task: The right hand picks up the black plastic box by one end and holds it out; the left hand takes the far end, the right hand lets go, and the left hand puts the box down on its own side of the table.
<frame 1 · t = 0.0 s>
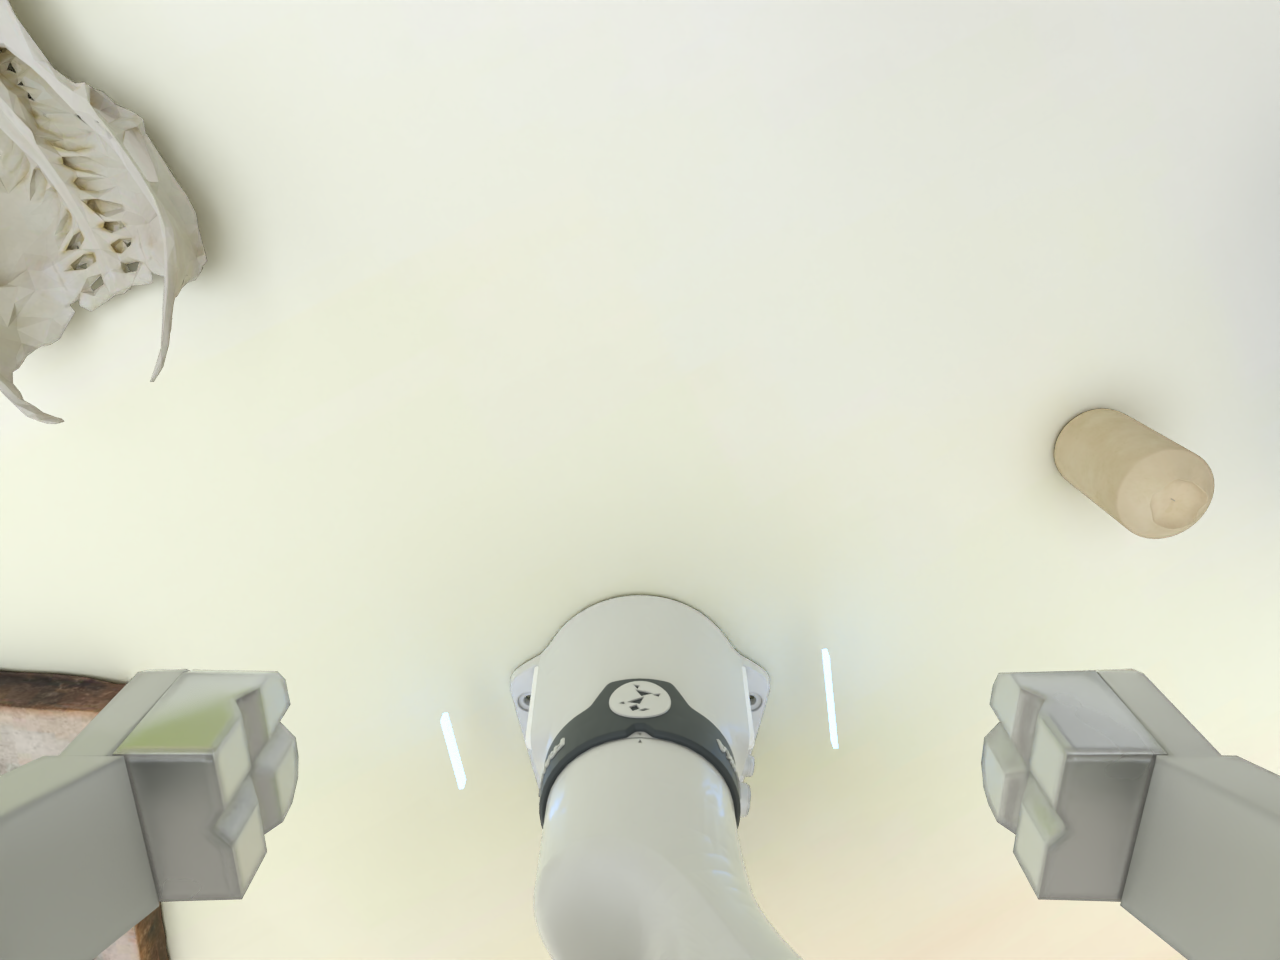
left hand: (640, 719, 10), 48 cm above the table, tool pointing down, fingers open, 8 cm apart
candle: (1093, 446, 60), on the table
anatomical model: (69, 175, 54), on the table
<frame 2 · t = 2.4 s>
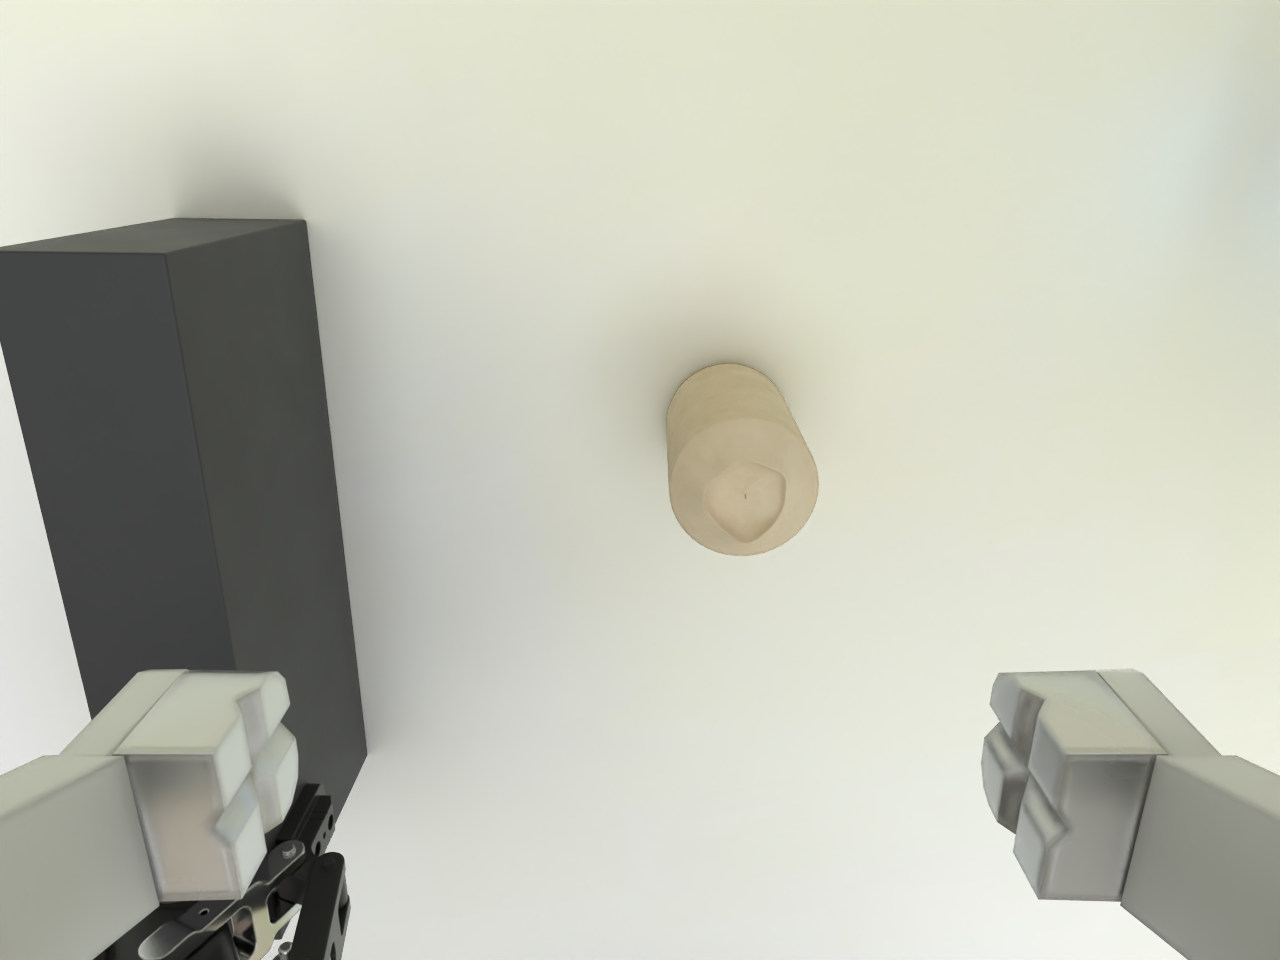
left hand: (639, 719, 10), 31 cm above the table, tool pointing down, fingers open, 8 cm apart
candle: (725, 419, 42), on the table
box: (281, 516, 44), on the table, touching right hand
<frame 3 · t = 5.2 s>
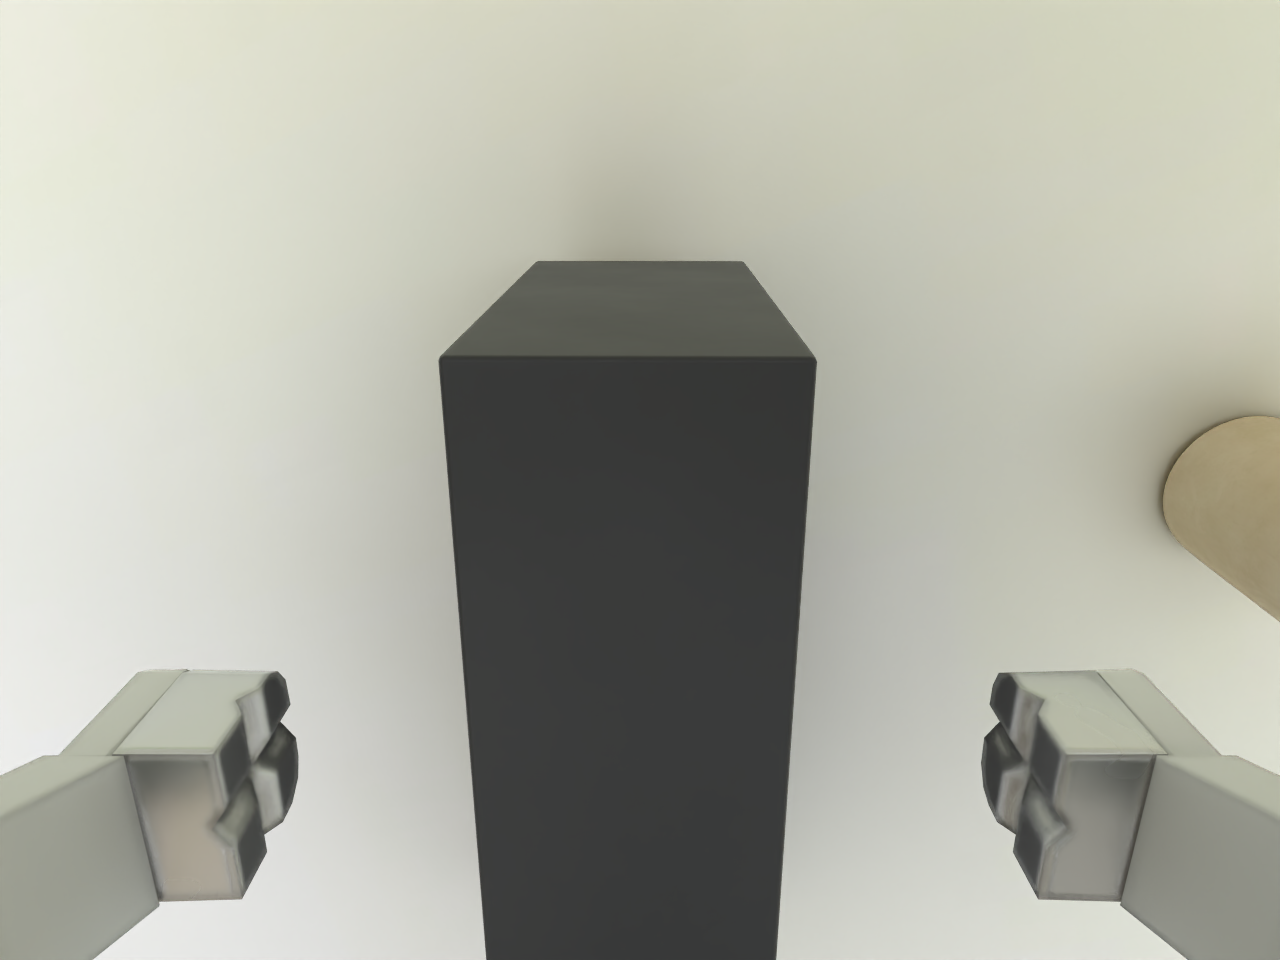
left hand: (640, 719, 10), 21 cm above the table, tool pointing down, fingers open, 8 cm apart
candle: (1236, 486, 32), on the table
box: (640, 692, 30), point 5 cm above the table, touching right hand
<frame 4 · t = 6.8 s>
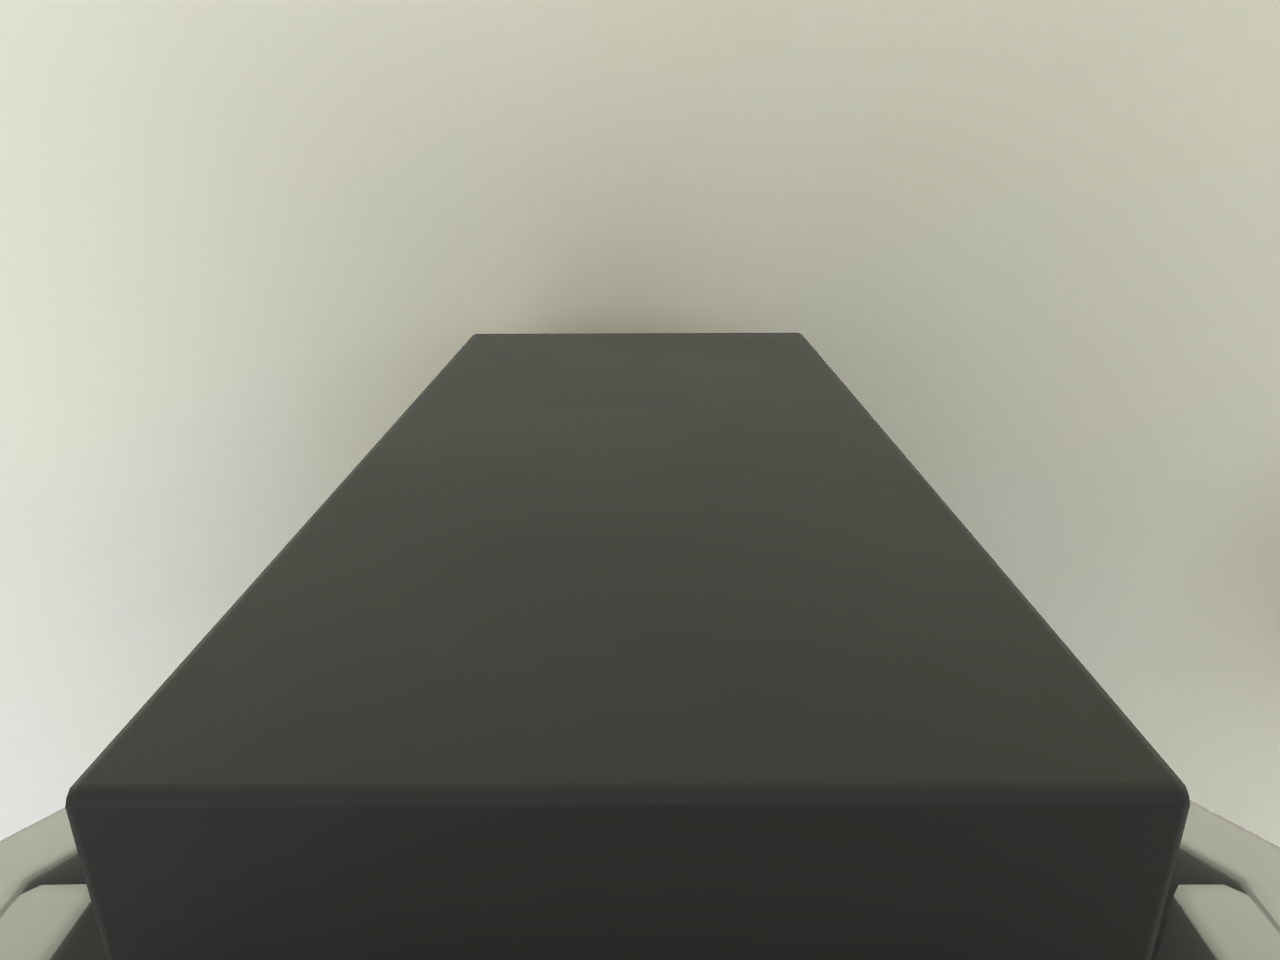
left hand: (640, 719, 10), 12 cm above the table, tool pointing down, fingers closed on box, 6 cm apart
box: (640, 938, 20), point 5 cm above the table, touching left hand, right hand
when the right hand's fingers open (13 cm above the table, at t = 8.0 s): box stays where it is, held by the left hand.
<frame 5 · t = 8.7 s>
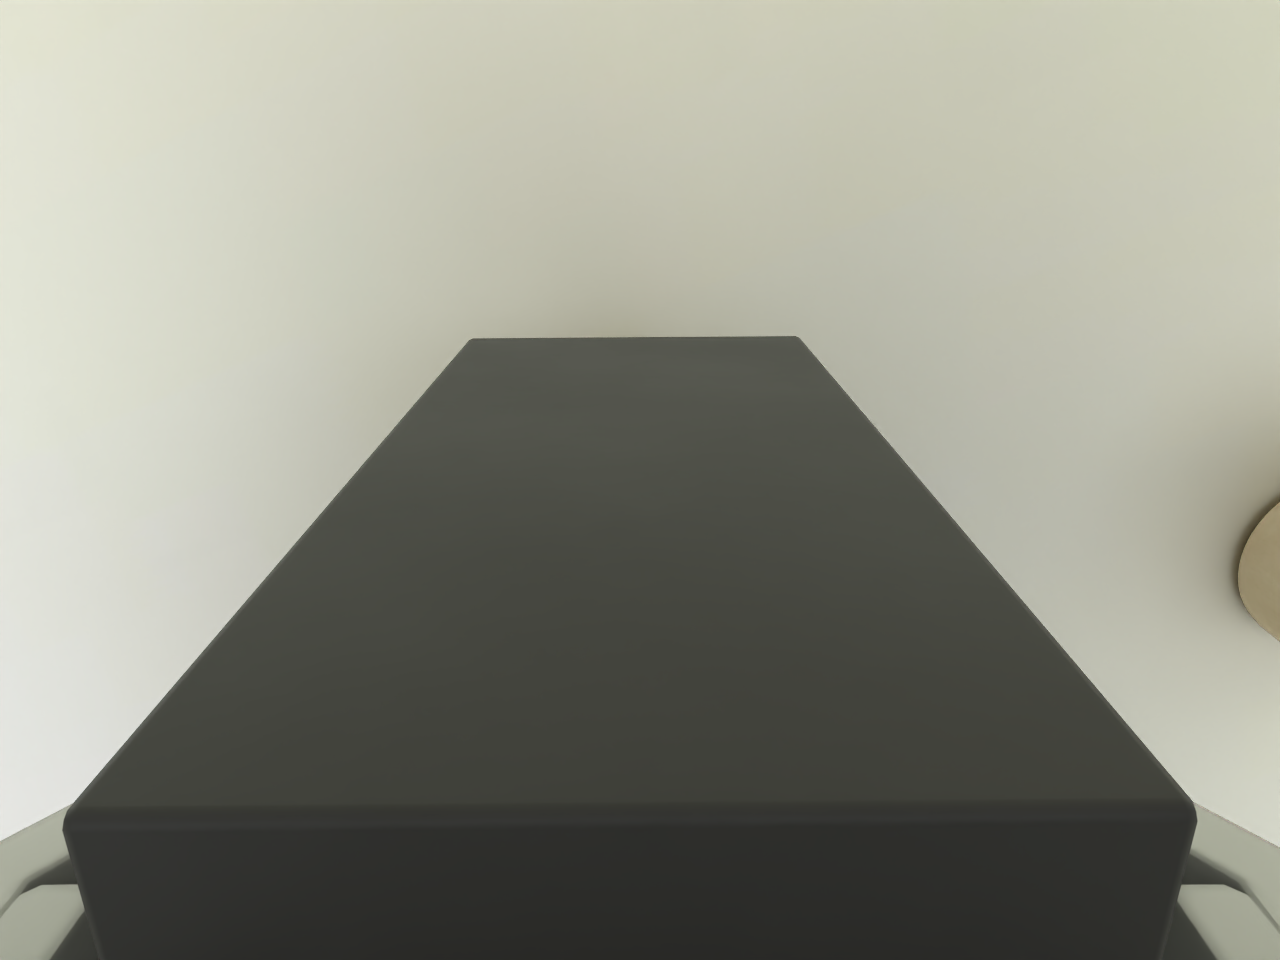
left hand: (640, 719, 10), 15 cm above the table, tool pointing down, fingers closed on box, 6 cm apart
box: (639, 942, 20), point 9 cm above the table, touching left hand
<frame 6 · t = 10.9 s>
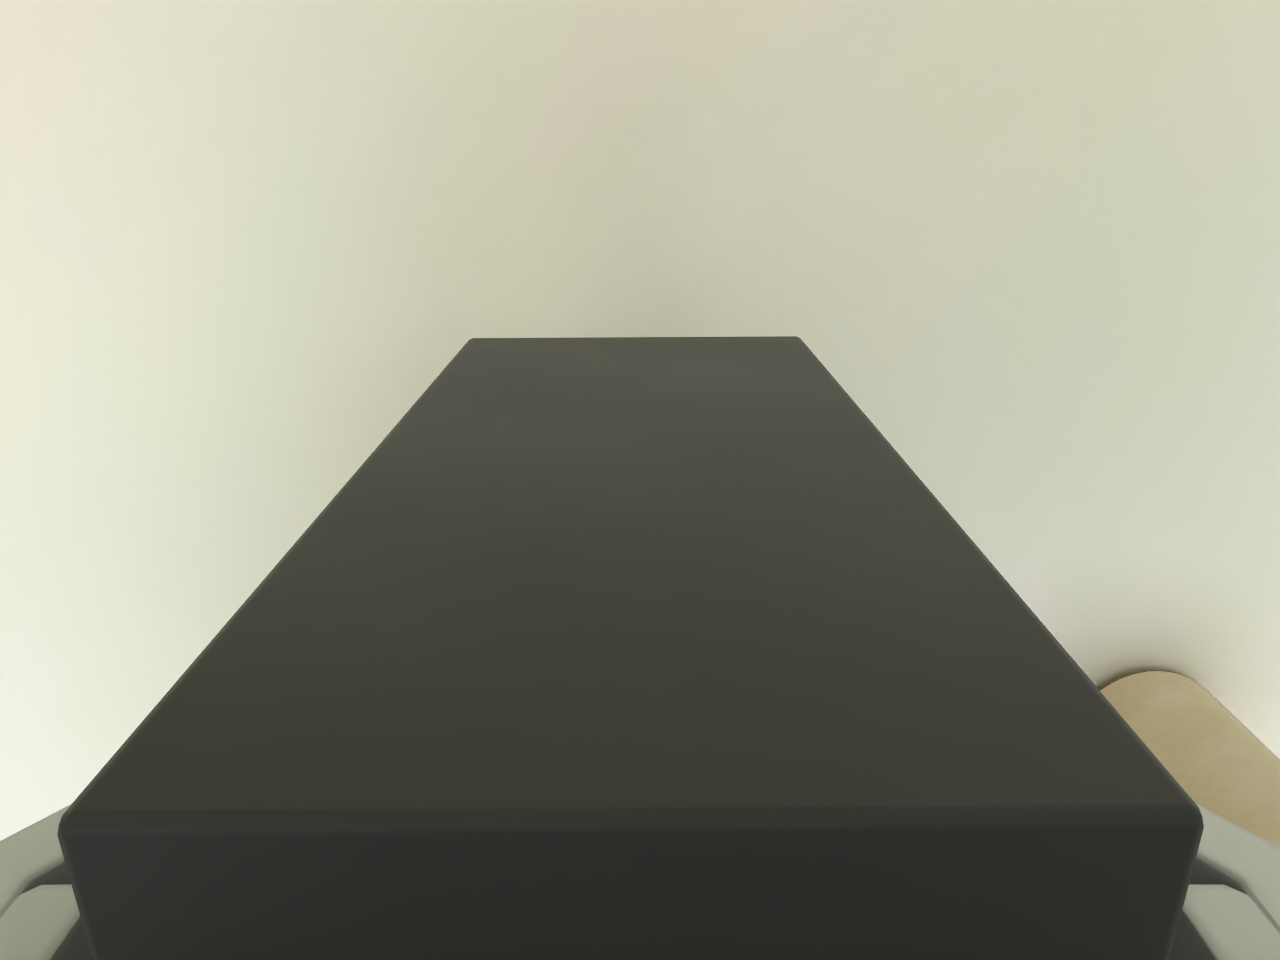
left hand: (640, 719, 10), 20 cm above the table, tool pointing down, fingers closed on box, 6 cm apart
candle: (1139, 727, 35), on the table
box: (638, 944, 20), point 14 cm above the table, touching left hand
when the left hand's fingers open (8 cm above the table, at t = 12.6 s): box stays where it is, on the table.
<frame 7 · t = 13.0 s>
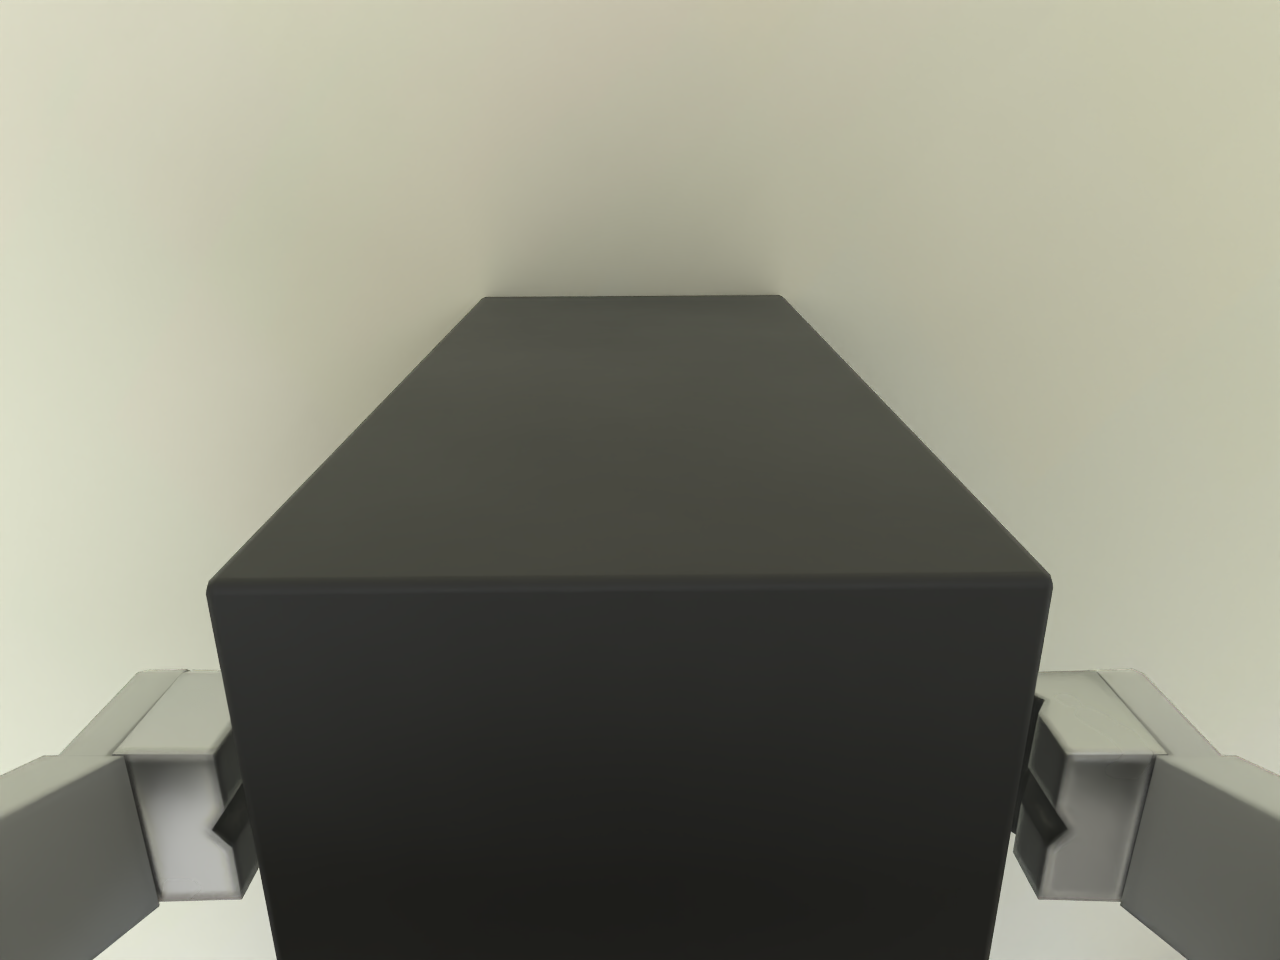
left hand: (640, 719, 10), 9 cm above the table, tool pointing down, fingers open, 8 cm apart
box: (637, 867, 22), on the table
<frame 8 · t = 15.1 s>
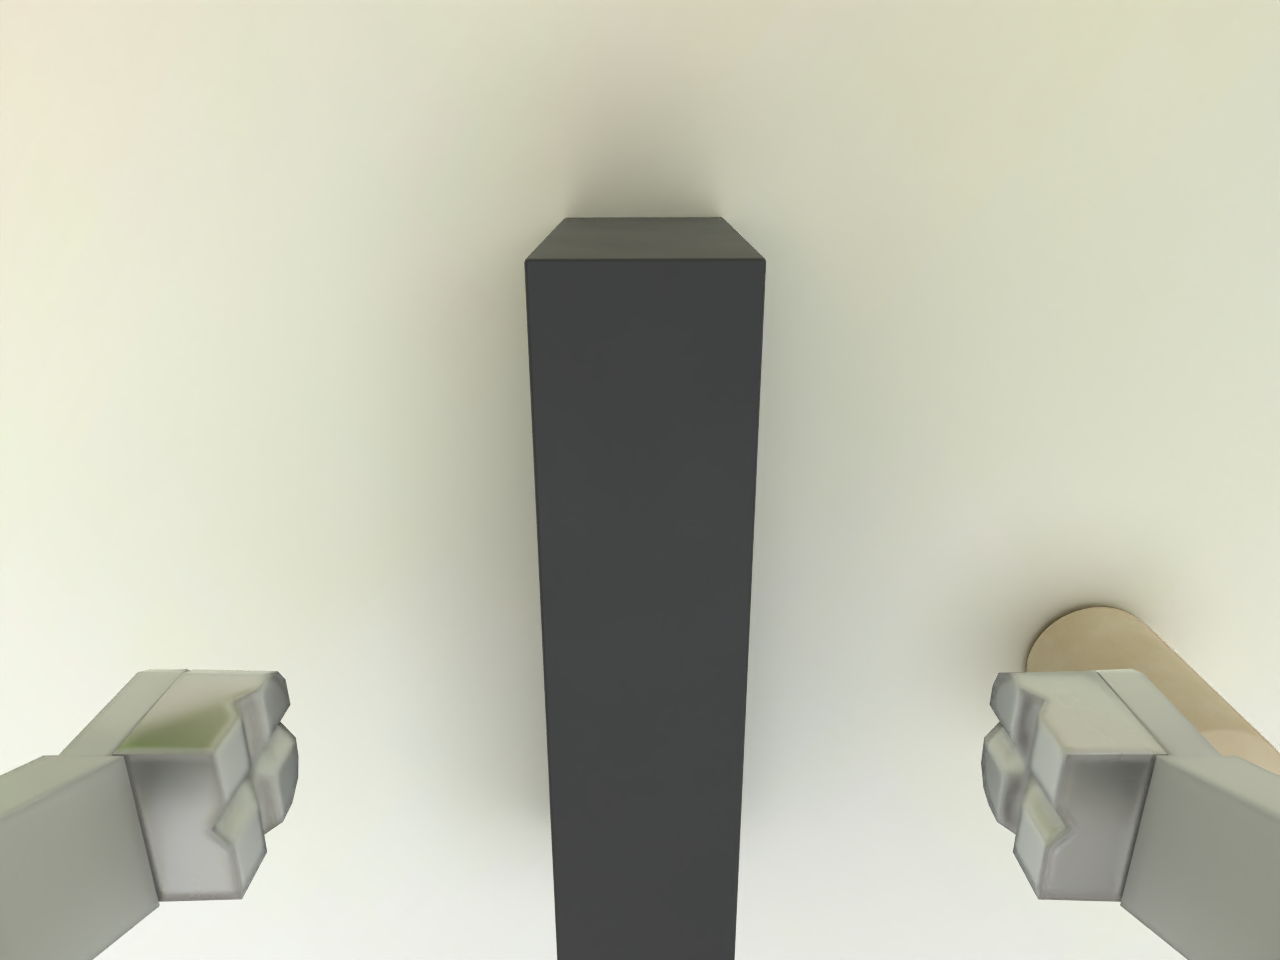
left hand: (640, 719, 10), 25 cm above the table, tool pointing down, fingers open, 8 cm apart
candle: (1086, 659, 39), on the table
box: (644, 564, 37), on the table
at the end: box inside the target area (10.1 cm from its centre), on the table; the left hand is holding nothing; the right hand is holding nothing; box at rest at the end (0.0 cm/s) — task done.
